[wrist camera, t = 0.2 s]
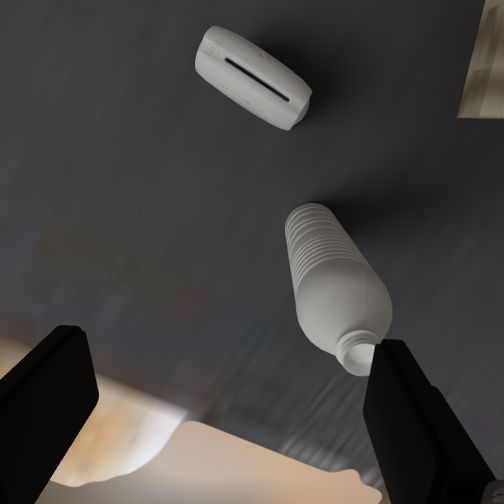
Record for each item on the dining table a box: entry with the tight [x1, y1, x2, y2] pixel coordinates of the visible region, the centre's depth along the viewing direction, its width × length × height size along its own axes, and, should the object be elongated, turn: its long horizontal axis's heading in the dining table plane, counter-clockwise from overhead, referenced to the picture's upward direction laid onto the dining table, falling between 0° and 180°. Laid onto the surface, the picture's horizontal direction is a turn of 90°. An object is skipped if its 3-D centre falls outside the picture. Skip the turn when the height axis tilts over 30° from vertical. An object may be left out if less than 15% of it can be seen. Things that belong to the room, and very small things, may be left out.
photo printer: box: [195, 26, 312, 130], centre depth 29 cm, size 10×4×12 cm, turn 59°
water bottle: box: [285, 203, 392, 376], centre depth 29 cm, size 9×6×25 cm
